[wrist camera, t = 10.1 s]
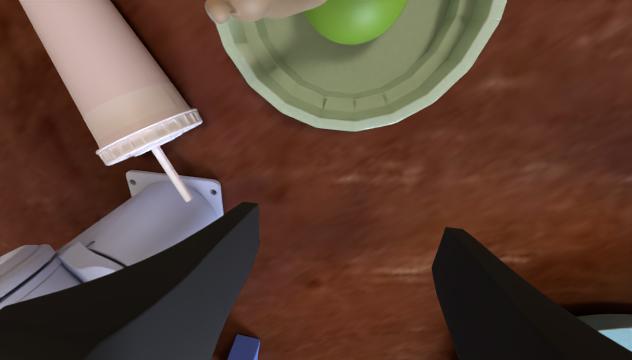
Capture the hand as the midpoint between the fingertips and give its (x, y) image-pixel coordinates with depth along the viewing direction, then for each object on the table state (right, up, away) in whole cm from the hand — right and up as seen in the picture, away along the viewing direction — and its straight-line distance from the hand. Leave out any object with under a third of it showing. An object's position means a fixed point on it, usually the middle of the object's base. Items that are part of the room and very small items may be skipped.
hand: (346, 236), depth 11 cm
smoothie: (-15, +13, +4) cm, 21 cm away
